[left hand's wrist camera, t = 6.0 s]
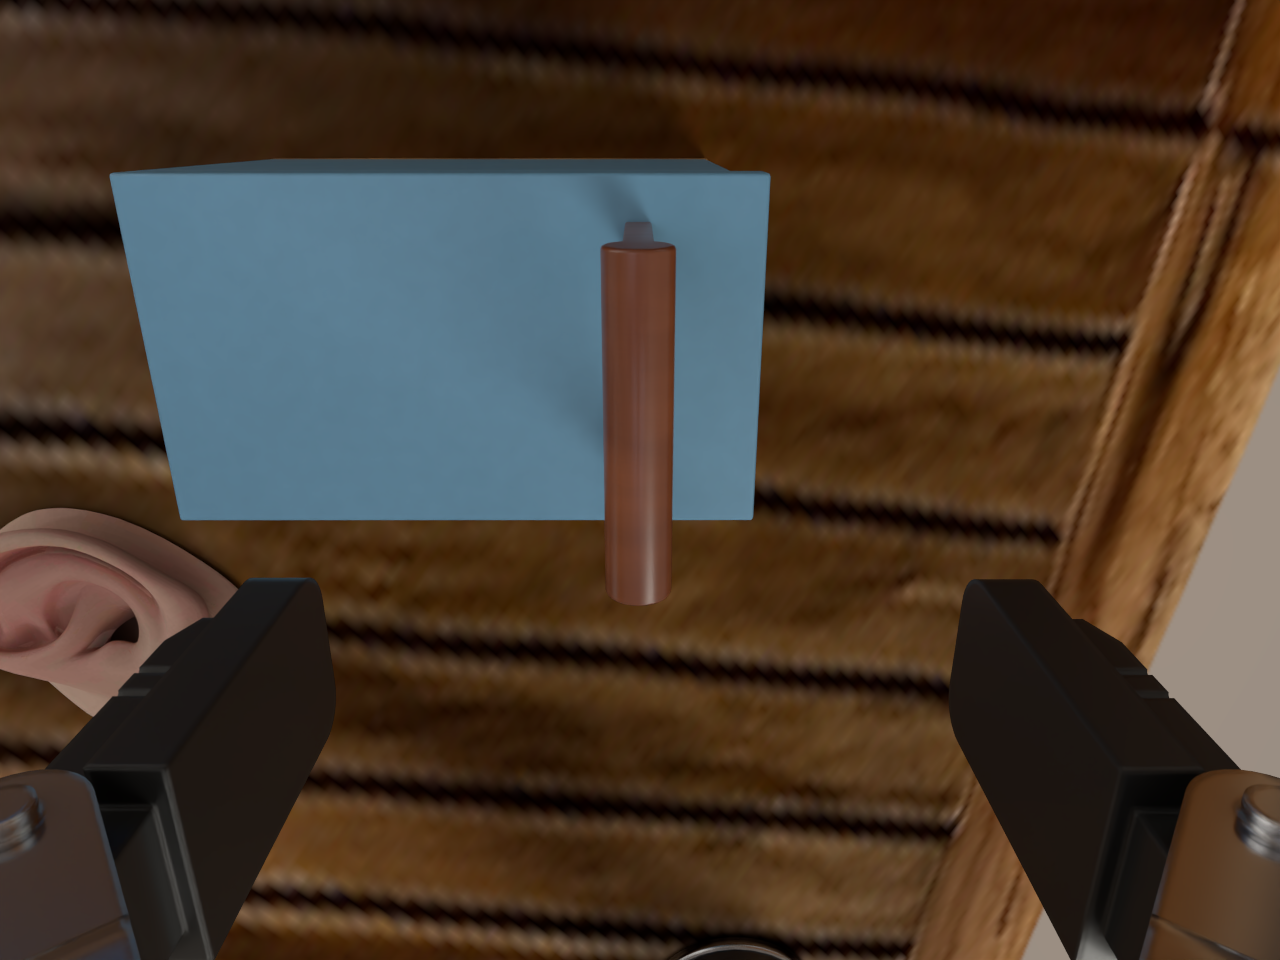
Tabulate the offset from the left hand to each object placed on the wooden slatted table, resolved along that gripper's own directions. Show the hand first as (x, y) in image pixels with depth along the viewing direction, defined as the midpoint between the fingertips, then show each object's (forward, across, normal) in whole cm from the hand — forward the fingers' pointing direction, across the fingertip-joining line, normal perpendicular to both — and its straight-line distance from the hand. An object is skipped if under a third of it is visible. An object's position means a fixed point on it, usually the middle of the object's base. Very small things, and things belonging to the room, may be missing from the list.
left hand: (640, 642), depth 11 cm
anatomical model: (+26, +24, +15) cm, 39 cm away
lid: (+16, +5, 0) cm, 17 cm away
